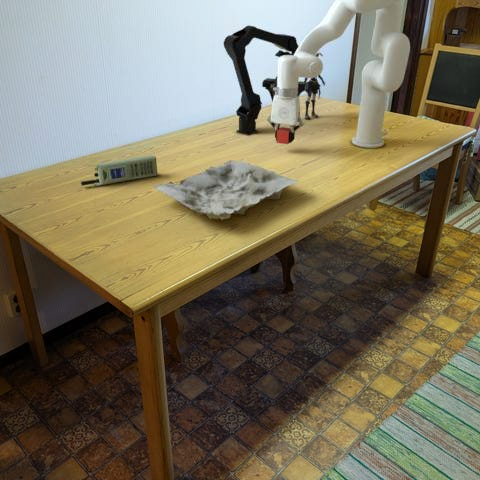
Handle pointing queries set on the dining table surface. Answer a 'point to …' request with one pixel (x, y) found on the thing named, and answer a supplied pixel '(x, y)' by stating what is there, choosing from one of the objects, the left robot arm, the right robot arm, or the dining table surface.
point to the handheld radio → (124, 170)
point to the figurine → (313, 92)
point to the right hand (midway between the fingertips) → (284, 140)
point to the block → (283, 135)
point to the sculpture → (227, 189)
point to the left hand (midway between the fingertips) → (283, 105)
